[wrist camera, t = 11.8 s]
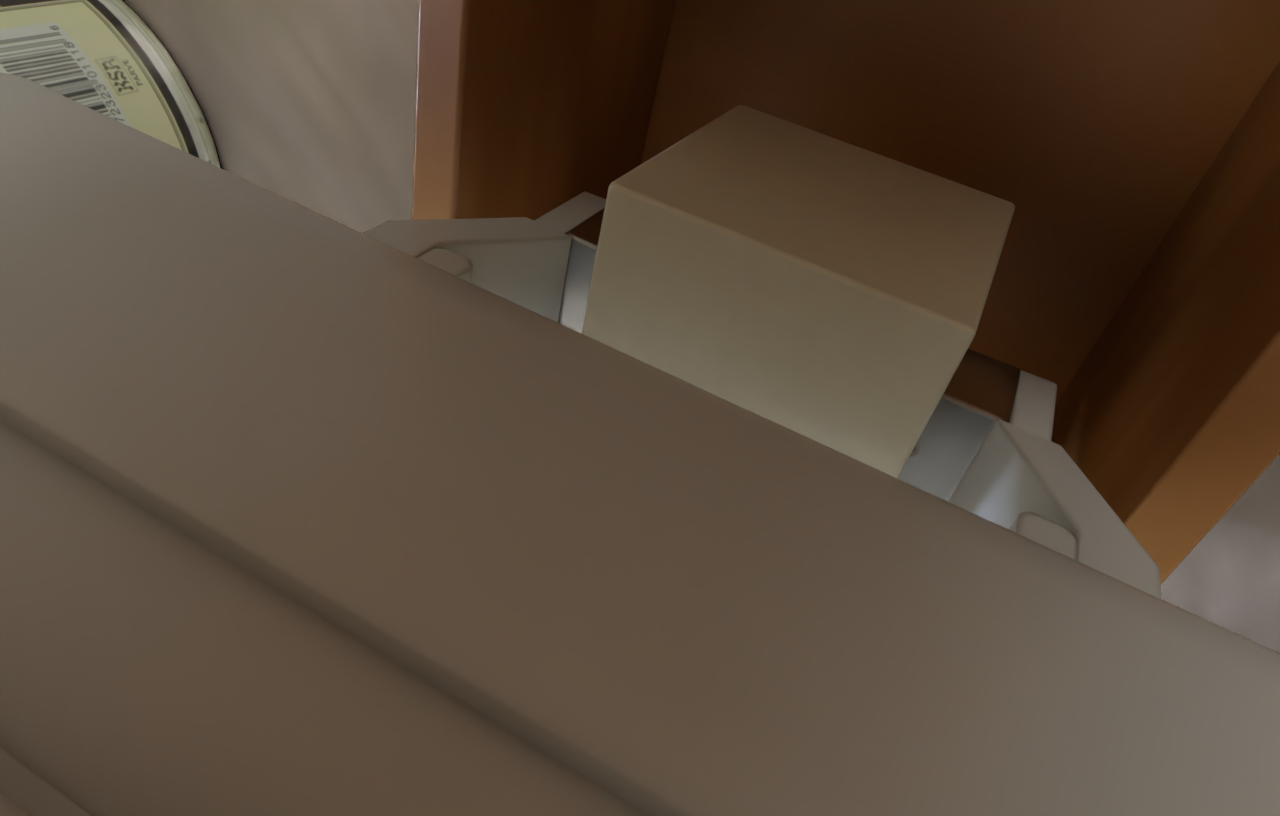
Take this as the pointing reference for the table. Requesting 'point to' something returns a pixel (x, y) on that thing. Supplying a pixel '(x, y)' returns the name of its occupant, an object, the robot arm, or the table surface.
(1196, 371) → the chest
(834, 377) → the block
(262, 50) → the table surface
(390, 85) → the table surface
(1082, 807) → the robot arm
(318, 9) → the table surface
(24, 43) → the coffee can
